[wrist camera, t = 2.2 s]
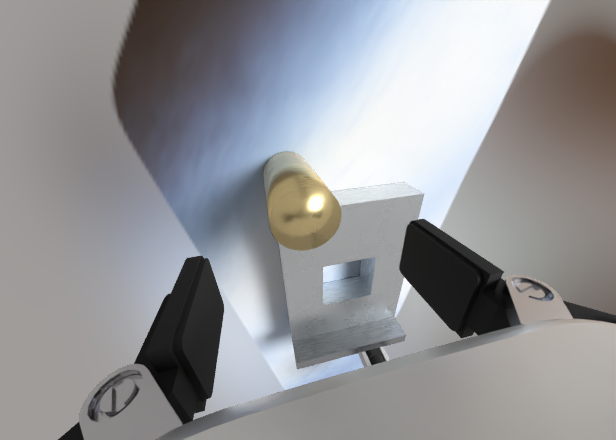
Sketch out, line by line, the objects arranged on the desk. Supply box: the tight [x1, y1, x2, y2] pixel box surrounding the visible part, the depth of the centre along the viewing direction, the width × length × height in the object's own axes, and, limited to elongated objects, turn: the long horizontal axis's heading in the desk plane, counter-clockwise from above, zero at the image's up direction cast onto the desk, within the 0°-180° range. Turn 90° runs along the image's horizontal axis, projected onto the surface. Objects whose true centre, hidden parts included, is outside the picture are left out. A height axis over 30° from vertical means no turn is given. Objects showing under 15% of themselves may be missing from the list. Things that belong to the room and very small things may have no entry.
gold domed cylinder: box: [263, 151, 342, 251], centre depth 15 cm, size 4×4×8 cm
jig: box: [278, 182, 424, 369], centre depth 23 cm, size 18×13×6 cm
